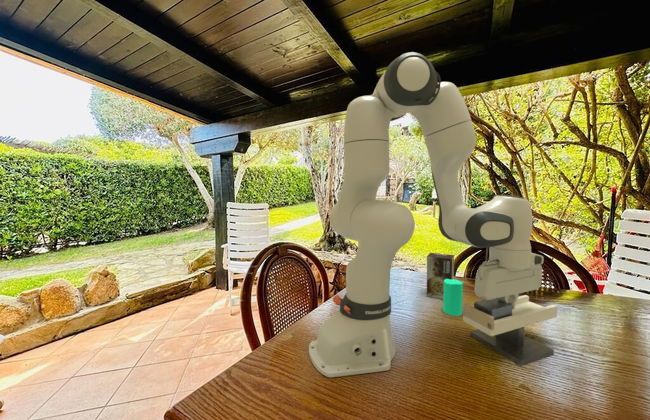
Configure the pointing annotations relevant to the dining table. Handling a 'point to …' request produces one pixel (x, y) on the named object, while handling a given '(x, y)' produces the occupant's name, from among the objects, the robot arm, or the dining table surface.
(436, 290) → the coffee box
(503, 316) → the block
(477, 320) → the beam
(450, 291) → the candle
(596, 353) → the dining table surface
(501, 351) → the pivot stand
